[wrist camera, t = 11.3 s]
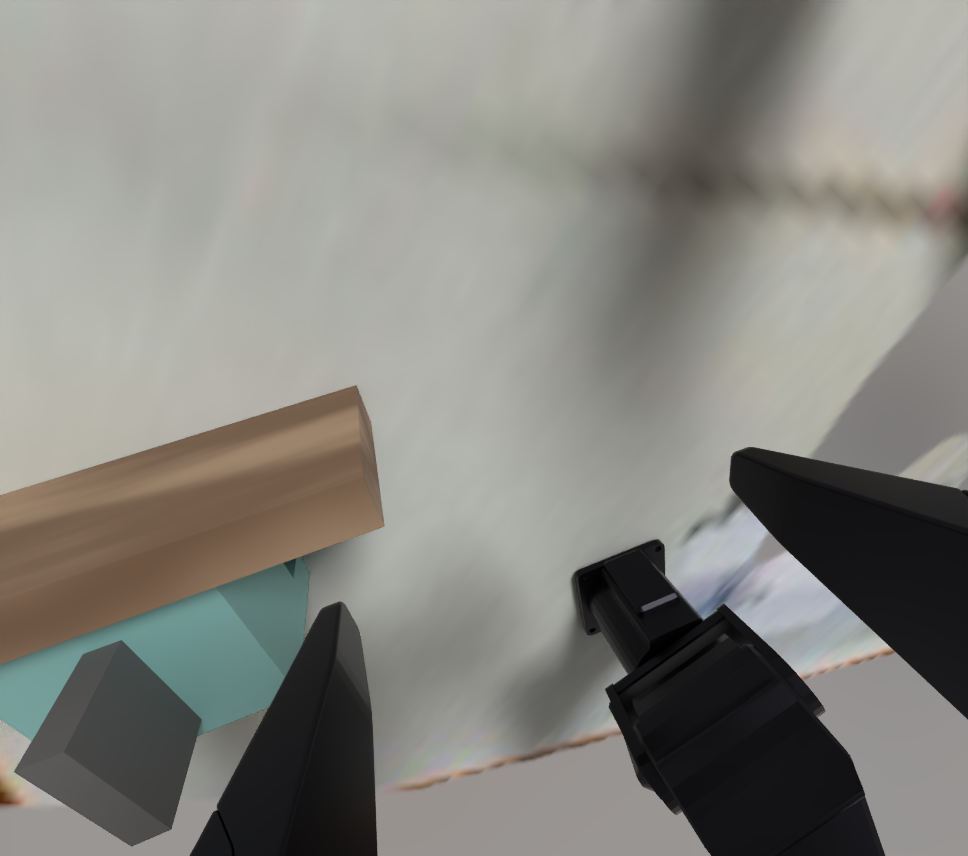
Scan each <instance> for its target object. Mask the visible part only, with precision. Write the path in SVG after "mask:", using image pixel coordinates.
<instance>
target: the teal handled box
mask: <svg viewBox="0 0 968 856" xmlns="http://www.w3.org/2000/svg"><path fill="white" fill-rule="evenodd" d="M309 576H310V572H309V570H308V569H307V567H306V565H305V564H304V562H303V560H302V559H301V557H298V558H295V559H292V560H290V561H287V562H284V563H281V564H278V565H276V566H273V567H270V568H267V569H265V570H262V571H259V572H256V573H253V574H251V575H248V576H245V577H242V578H239V579H237V580H234V581H231V582H228V583H226V584H223V585H220V586H217V587H214V588H212V589H209V590H206V591H203V592H201V593H198V594H195V595H192V596H189V597H187V598H184V599H181V600H178V601H175V602H173V603H170V604H167V605H164V606H162V607H159V608H156V609H153V610H150V611H148V612H145V613H142V614H139V615H136V616H134V617H131V618H128V619H125V620H123V621H120V622H117V623H114V624H111V625H109V626H106V627H103V628H100V629H98V630H95V631H92V632H89V633H86V634H84V635H81V636H78V637H75V638H72V639H70V640H67V641H64V642H61V643H59V644H56V645H53V646H50V647H47V648H45V649H42V650H39V651H36V652H33V653H31V654H28V655H25V656H22V657H20V658H17V659H14V660H11V661H8V662H6V663H3V664H0V719H1V720H3V721H4V722H5V723H7V724H8V725H10V726H11V727H13V728H14V729H15V730H17V731H18V732H20V733H21V734H23V735H24V736H26V737H27V738H28V739H30V740H31V741H32V742H31V744H30V745H29V747H28V749H27V750H26V752H25V754H24V756H23V757H22V759H21V761H20V762H19V764H18V766H17V767H16V769H15V771H14V772H15V773H16V774H18V775H19V776H21V777H23V778H24V779H26V780H27V781H29V782H30V783H32V784H34V785H35V786H37V787H38V788H40V789H41V790H43V791H45V792H46V793H48V794H49V795H51V796H53V797H54V798H56V799H57V800H59V801H60V802H62V803H64V804H65V805H67V806H68V807H70V808H71V809H73V810H75V811H76V812H78V813H79V814H81V815H83V816H84V817H86V818H87V819H89V820H90V821H92V822H94V823H95V824H97V825H98V826H100V827H102V828H103V829H105V830H106V831H108V832H109V833H111V834H113V835H114V836H116V837H118V838H119V839H121V840H122V841H124V842H125V843H127V844H128V845H130V846H134V845H136V844H139V843H141V842H143V841H145V840H148V839H150V838H152V837H155V836H157V835H159V834H161V833H164V832H166V831H169V830H171V829H172V825H173V821H174V817H175V814H176V811H177V807H178V803H179V800H180V796H181V793H182V789H183V785H184V782H185V778H186V775H187V771H188V767H189V764H190V760H191V756H192V753H193V749H194V746H195V742H196V738H197V736H199V735H202V734H204V733H206V732H209V731H211V730H214V729H216V728H219V727H221V726H224V725H226V724H229V723H231V722H233V721H236V720H238V719H241V718H243V717H246V716H248V715H251V714H253V713H256V712H258V711H260V710H263V709H265V708H268V707H269V706H270V704H271V702H272V700H273V699H274V697H275V695H276V693H277V691H278V689H279V687H280V685H281V683H282V682H283V680H284V678H285V676H286V674H287V672H288V670H289V668H290V666H291V665H292V663H293V661H294V659H295V657H296V655H297V653H298V651H299V649H300V648H301V646H302V644H303V641H304V630H305V619H306V609H307V598H308V587H309Z"/></svg>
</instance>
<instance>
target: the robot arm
mask: <svg viewBox="0 0 968 856" xmlns="http://www.w3.org/2000/svg"><path fill="white" fill-rule="evenodd" d="M729 482H730V486H731V488H732V490H733V491H734V493H735V494H736V495H737V496H738V497H739V498H740V499H741V500H742V502H743V503H744V504H745V505H746V506H747V507H748V508H749V509H750V511H751V512H752V513H753V514H754V515H755V516H756V517H757V518H758V520H759V521H760V522H761V523H762V524H763V525H764V526H765V528H766V529H767V530H768V531H769V532H770V533H771V534H772V535H773V536H774V537H775V539H776V540H777V541H778V542H779V543H780V544H781V545H782V546H783V547H784V548H785V549H786V550H787V551H788V552H789V553H791V554H792V555H793V556H794V557H795V558H796V559H797V560H798V561H799V562H800V563H801V564H802V565H803V566H804V567H805V568H807V569H808V570H809V571H810V572H811V573H812V574H813V575H814V576H815V577H816V578H817V579H818V580H819V581H820V582H822V583H823V584H824V585H825V586H826V587H827V588H828V589H829V590H830V591H831V592H832V593H833V594H834V595H835V596H836V597H838V598H839V599H840V600H841V601H842V602H843V603H844V604H845V605H846V606H847V607H848V608H849V609H850V610H851V611H853V612H854V613H855V614H856V615H857V616H858V617H859V618H860V619H861V620H862V621H863V622H864V623H865V624H866V625H867V626H869V627H870V628H871V629H872V630H873V631H874V632H875V633H876V634H877V635H878V636H879V637H880V638H881V639H882V640H883V641H885V642H886V643H887V644H888V645H889V646H890V647H891V648H892V649H893V650H894V651H895V652H896V653H897V654H898V655H900V656H901V657H902V658H903V659H904V660H905V661H906V662H907V663H908V664H909V665H910V666H911V667H912V668H913V669H914V670H916V671H917V672H918V673H919V674H920V675H921V676H922V677H923V678H924V679H925V680H926V681H927V682H928V683H930V684H931V685H932V686H933V687H934V688H935V689H936V690H937V691H938V692H939V693H940V694H941V695H942V696H943V697H944V698H945V699H947V700H948V701H949V702H950V703H951V704H952V705H953V706H954V707H955V708H956V709H957V710H958V711H960V713H962V714H963V715H964V716H965V717H966V718H967V719H968V490H962V491H961V490H960V489H957V488H953V487H948V486H943V485H938V484H933V483H928V482H923V481H918V480H913V479H908V478H903V477H898V476H893V475H888V474H883V473H879V472H874V471H869V470H864V469H859V468H853V467H849V466H844V465H838V464H834V463H829V462H824V461H819V460H814V459H809V458H804V457H799V456H794V455H790V454H785V453H780V452H775V451H770V450H765V449H760V448H755V447H747V448H744V449H741V450H739V451H736V452H734V453H733V454H732V456H731V463H730V477H729ZM575 578H576V584H577V590H578V596H579V603H580V609H581V615H582V621H583V627H584V630H585V632H586V633H587V635H594V634H596V633H598V632H601V631H602V633H603V634H604V636H605V638H606V639H607V641H608V643H609V644H610V646H611V648H612V649H613V651H614V652H615V654H616V656H617V657H618V659H619V661H620V662H621V664H622V666H623V667H624V669H625V670H626V672H627V674H628V675H627V676H625V677H624V678H623V679H621V680H620V681H618V682H617V683H616V684H614V685H613V684H611V685H610V686H608V687H607V688H606V689H605V690H606V692H607V694H608V697H609V699H610V701H611V702H610V703H609V704H610V705H609V709H610V711H611V712H612V714H613V716H614V718H615V720H616V722H617V724H618V726H619V728H620V730H621V732H622V734H623V736H624V739H625V742H626V745H627V748H628V751H629V754H630V757H631V761H632V764H633V767H634V770H635V773H636V776H637V778H638V780H639V782H640V783H641V785H642V786H643V787H644V788H647V789H649V790H652V791H654V792H655V793H656V794H657V795H658V796H659V798H660V799H661V800H663V802H664V803H665V804H666V806H667V807H668V808H669V809H670V810H671V811H672V812H673V813H674V814H675V815H678V814H679V813H681V812H682V811H683V813H684V815H685V816H686V818H687V819H688V821H689V823H690V824H691V826H692V827H693V829H694V831H695V832H696V834H697V835H698V837H699V838H700V840H701V842H702V843H703V845H704V847H705V848H706V849H707V851H708V852H709V853H710V855H711V856H885V854H884V851H883V848H882V845H881V842H880V839H879V836H878V833H877V830H876V827H875V825H874V822H873V819H872V816H871V813H870V810H869V807H868V804H867V801H866V798H865V793H864V790H863V787H862V785H861V782H860V780H859V777H858V775H857V772H856V770H855V767H854V764H853V761H852V759H851V757H850V755H849V754H848V752H847V751H846V750H845V749H844V747H843V746H842V745H841V744H840V743H839V742H838V741H837V739H836V738H835V737H834V736H833V735H832V734H831V733H830V732H829V730H828V729H827V728H826V727H825V726H824V725H823V724H822V722H820V720H819V719H818V718H817V717H819V716H820V715H822V714H823V713H824V712H825V709H824V707H823V705H822V704H821V703H820V701H819V700H818V698H817V697H816V696H815V695H814V693H813V692H812V691H811V690H810V688H809V687H808V686H807V685H806V684H805V683H804V681H803V680H802V679H801V678H800V677H799V676H798V675H797V673H796V672H795V671H794V670H793V669H792V668H791V667H790V666H789V665H788V664H787V663H786V662H785V661H784V660H783V659H782V658H781V657H780V656H779V655H778V654H777V653H776V652H775V651H774V650H773V649H772V648H771V647H770V646H769V645H768V644H767V643H766V642H765V641H764V640H763V639H761V638H760V637H759V636H758V635H757V634H756V633H755V632H754V631H753V630H752V629H751V628H750V627H749V626H747V625H746V624H745V623H744V622H743V621H742V620H741V619H740V618H739V617H738V616H737V615H736V614H735V613H733V612H732V611H731V610H730V609H729V608H728V607H727V606H726V605H725V604H722V605H721V606H720V607H718V608H717V611H716V612H714V613H713V614H711V615H710V616H709V617H707V618H706V619H705V620H703V619H702V617H701V616H700V615H699V614H698V613H697V612H696V611H695V609H694V608H693V607H692V606H691V605H690V604H689V603H688V601H687V600H686V599H685V598H684V597H683V596H682V595H681V593H680V592H679V591H678V590H677V589H676V588H675V587H674V585H673V584H672V583H671V582H670V581H669V580H668V579H667V578H666V576H665V547H664V544H663V543H662V542H661V541H660V540H653V541H651V542H648V543H646V544H643V545H641V546H638V547H636V548H633V549H631V550H628V551H626V552H623V553H621V554H618V555H616V556H613V557H611V558H608V559H606V560H603V561H601V562H598V563H596V564H593V565H591V566H588V567H586V568H583V569H581V570H579V571H578V572H577V573H576V575H575ZM375 804H376V803H375V776H374V749H373V724H372V711H371V703H370V696H369V689H368V683H367V676H366V669H365V663H364V656H363V649H362V643H361V636H360V632H359V629H358V627H357V625H356V623H355V621H354V619H353V618H352V616H351V614H350V612H349V610H348V609H347V607H346V605H345V604H344V603H343V602H337V603H334V604H332V605H329V606H326V607H324V608H322V609H321V611H320V612H319V614H318V616H317V617H316V619H315V621H314V623H313V625H312V627H311V629H310V631H309V633H308V634H307V636H306V638H305V640H304V642H303V644H302V646H301V648H300V649H299V651H298V653H297V655H296V657H295V659H294V661H293V663H292V665H291V666H290V668H289V670H288V672H287V674H286V676H285V678H284V680H283V682H282V683H281V685H280V687H279V689H278V691H277V693H276V695H275V697H274V699H273V700H272V702H271V704H270V706H269V708H268V710H267V712H266V714H265V716H264V717H263V719H262V721H261V723H260V725H259V727H258V729H257V731H256V732H255V734H254V736H253V738H252V740H251V742H250V744H249V746H248V748H247V749H246V751H245V753H244V755H243V757H242V759H241V761H240V763H239V765H238V766H237V768H236V770H235V772H234V774H233V776H232V778H231V780H230V782H229V783H228V785H227V787H226V789H225V791H224V793H223V795H222V797H221V798H220V800H219V802H218V804H217V809H218V810H216V811H214V812H213V813H212V815H211V817H210V819H209V821H208V823H207V825H206V826H205V828H204V830H203V832H202V834H201V836H200V838H199V840H198V841H197V843H196V845H195V847H194V849H193V850H192V852H191V854H190V856H377V831H376V805H375Z"/></svg>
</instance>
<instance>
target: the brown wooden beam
mask: <svg viewBox="0 0 968 856" xmlns="http://www.w3.org/2000/svg"><path fill="white" fill-rule="evenodd" d="M381 527H384V519H383V511H382V504H381V496H380V488H379V480H378V473H377V465H376V457H375V450H374V442H373V434H372V426H371V421H370V419H369V416H368V414H367V411H366V409H365V406H364V404H363V401H362V399H361V396H360V394H359V391H358V389H357V386H353V387H349V388H346V389H343V390H340V391H336V392H333V393H330V394H327V395H323V396H320V397H317V398H314V399H311V400H307V401H304V402H301V403H298V404H294V405H291V406H288V407H285V408H282V409H278V410H275V411H272V412H269V413H265V414H262V415H259V416H256V417H252V418H249V419H246V420H243V421H240V422H236V423H233V424H230V425H227V426H223V427H220V428H217V429H214V430H211V431H207V432H204V433H201V434H198V435H194V436H191V437H188V438H185V439H182V440H178V441H175V442H172V443H169V444H165V445H162V446H159V447H156V448H152V449H149V450H146V451H143V452H140V453H136V454H133V455H130V456H127V457H123V458H120V459H117V460H114V461H111V462H107V463H104V464H101V465H98V466H94V467H91V468H88V469H85V470H81V471H78V472H75V473H72V474H69V475H65V476H62V477H59V478H56V479H52V480H49V481H46V482H43V483H40V484H36V485H33V486H30V487H27V488H23V489H20V490H17V491H14V492H11V493H7V494H4V495H1V496H0V664H3V663H6V662H8V661H11V660H14V659H17V658H20V657H22V656H25V655H28V654H31V653H33V652H36V651H39V650H42V649H45V648H47V647H50V646H53V645H56V644H59V643H61V642H64V641H67V640H70V639H72V638H75V637H78V636H81V635H84V634H86V633H89V632H92V631H95V630H98V629H100V628H103V627H106V626H109V625H111V624H114V623H117V622H120V621H123V620H125V619H128V618H131V617H134V616H136V615H139V614H142V613H145V612H148V611H150V610H153V609H156V608H159V607H162V606H164V605H167V604H170V603H173V602H175V601H178V600H181V599H184V598H187V597H189V596H192V595H195V594H198V593H201V592H203V591H206V590H209V589H212V588H214V587H217V586H220V585H223V584H226V583H228V582H231V581H234V580H237V579H239V578H242V577H245V576H248V575H251V574H253V573H256V572H259V571H262V570H265V569H267V568H270V567H273V566H276V565H278V564H281V563H284V562H287V561H290V560H292V559H295V558H298V557H301V556H304V555H306V554H309V553H312V552H315V551H317V550H320V549H323V548H326V547H329V546H331V545H334V544H337V543H340V542H342V541H345V540H348V539H351V538H354V537H356V536H359V535H362V534H365V533H368V532H370V531H373V530H376V529H379V528H381Z"/></svg>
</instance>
